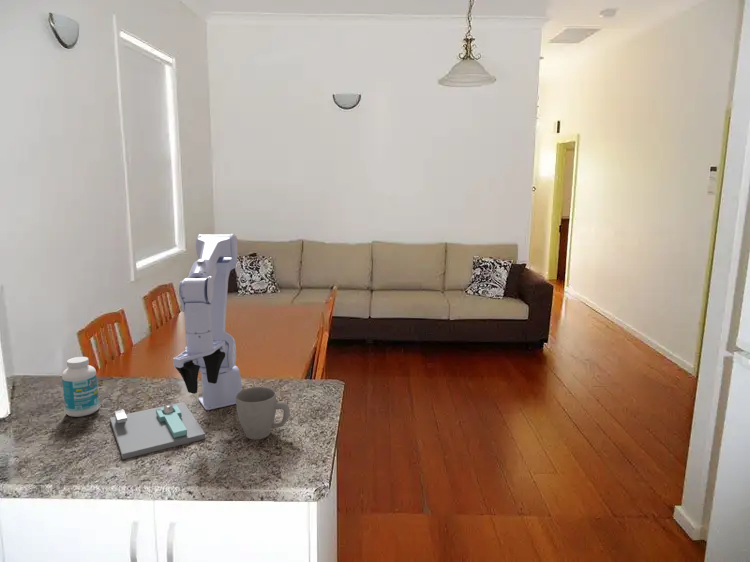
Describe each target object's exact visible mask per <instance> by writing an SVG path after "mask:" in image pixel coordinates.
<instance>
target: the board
mask: <svg viewBox="0 0 750 562" xmlns="http://www.w3.org/2000/svg"><path fill="white" fill-rule="evenodd" d="M170 405H173V406H175V405H177V406H178V408H179V409H180V411H181V414H182V417H180V419H181V421H182V422H183V424H184V426H185V427H186V429H187V435H184V436H180V437H176V438H174V437H173V435H172V433H171V431H170V429H169V428H168V426H167V424H166V422H165V421H163V422H160V420H159V418H158V416H157V415H156V409H161V408H164V406H165V405H162V406H157V407H154V408H153V407H151V408H148V409H144V410H138V411H134V412H129V413H125V414H126V416H127V421H126V422H125V423H121V424H116V422H115V416H110V417H109V420H110V425H111V428H112V431H113V434H114V437H115V440H116V443H117V447H118V450H119V453H120V456H121V458H122V460H126V459H129V458H134V457H138V456H141V455H142V456H143V455H145V454H149V453H154V452H158V451H161V450H165V449H166V450H167V449H170V448H174V447H178V446H182V445H185V444H190V443H193V442H198V441H201V440H205V439H206V433H205V431H204V430H203V428H202V427H201V425H200V424H199V423H198V421H197V419H196V418H195V416H194V415H193V413H192V412H191V410H190V409H189V407H187V405H186V403H185V402H184V401H181V402H177V403H171V404H170Z"/></svg>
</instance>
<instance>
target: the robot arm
mask: <svg viewBox="0 0 750 562" xmlns="http://www.w3.org/2000/svg"><path fill="white" fill-rule="evenodd" d="M195 251H196V255H197V257H198V259H197V260H195V261H194V262H193V263H192V266H191V268H190V270H189V273H188V276H187V277H186V278H185V277H184V279H183V280H180V282H179V284H178V285H179V287H178V296H179V303H180V305H181V311H182V313H183V315H184V326H185V328H184V329H185V343H186V347H184V351H182V352H181V353H179V354H178V355H177V356H175V357H173V358H172V365H173V368H175V369H176V370H177V372H178V373H179V374H180V376H181V377H182V380H183V381H184V385H185V387H186V390H187V393H189V394H195V395H196V394H197V393H198V391H199V390H198V388H199V387H198V383H199V382H198V377H199V373H200V375H201V376H200V377H201V378H200V379H201V389H202V390H201V391H202V396H201V397H200V396H199V397H198V400H197V401H199V403H200V404H201V405H202V406H203V408H204V409H205V410H206V411H211V410H214V409H215V410H216V409H218V408H224V407H228V406H233V405H236V395H237V394H238V393H239V392H240V391H242V390H243V388H242V376H241V375H242V374H241V371H240V369H239V367H238V366H237V365H236V362H237V348H236V346H237V345H236V340H235V338H234V336H233V335H231V334H230V333H228V332H227V331H226V325H227V324H226V323H227V308H228V307H227V306H228V291H229V290H228V289H229V277H230V273H231V271H233V270H234V269H236V268H237V263H238V251H239V245H238V237H237V236H236V235H235V233H230V234H227V233H226V234H202V233H199V234H198V236H196V240H195Z"/></svg>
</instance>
